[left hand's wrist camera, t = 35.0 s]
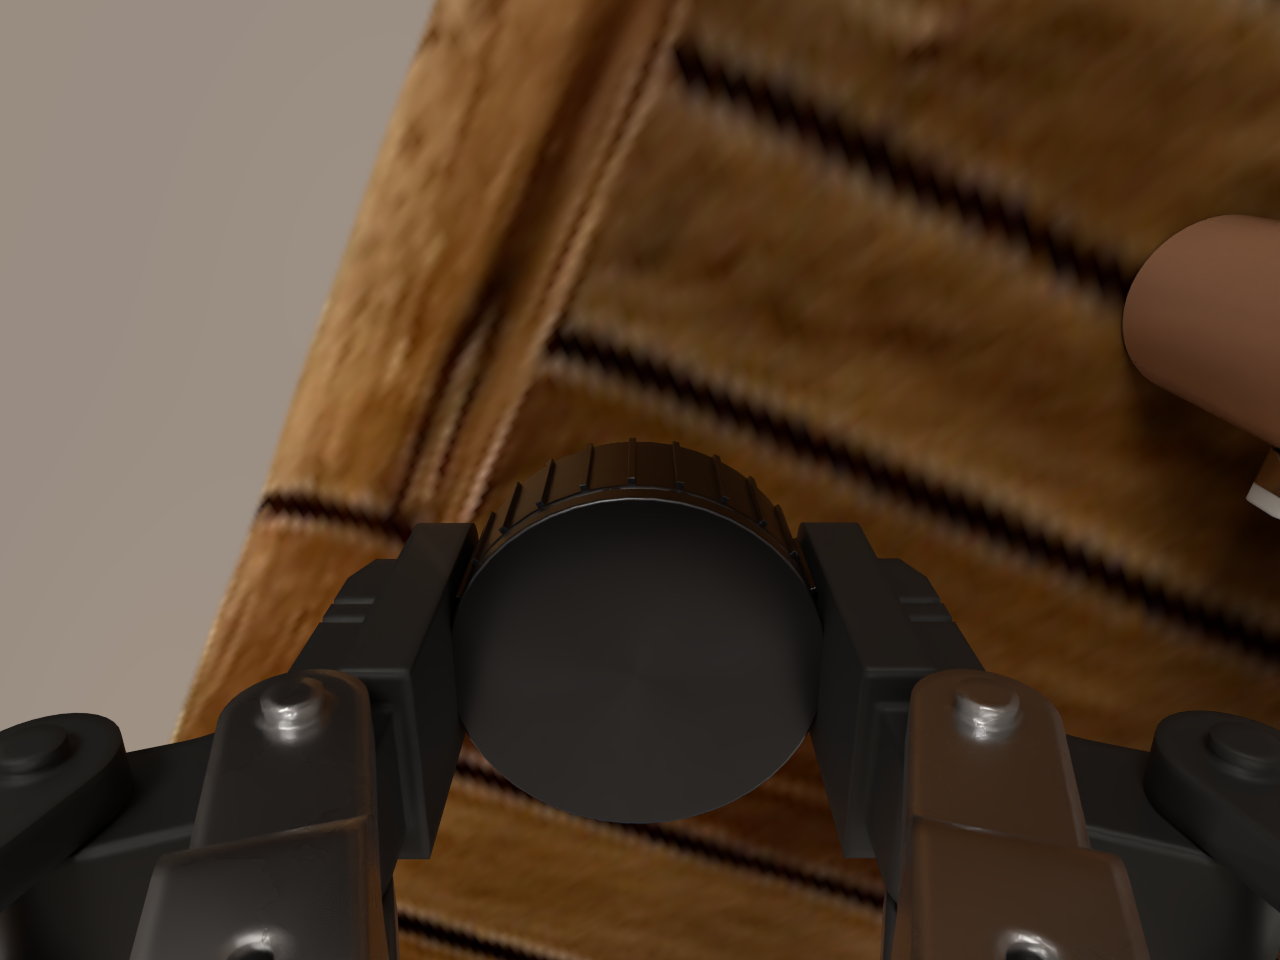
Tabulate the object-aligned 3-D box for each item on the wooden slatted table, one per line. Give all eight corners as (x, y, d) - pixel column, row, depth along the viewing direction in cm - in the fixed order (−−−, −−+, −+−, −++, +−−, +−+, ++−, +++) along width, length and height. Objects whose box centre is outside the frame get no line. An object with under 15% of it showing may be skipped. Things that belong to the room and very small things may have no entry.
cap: (847, 474, 11) (885, 538, 10) (756, 756, 13) (773, 855, 11) (499, 402, 11) (471, 454, 9) (448, 701, 13) (418, 793, 11)
